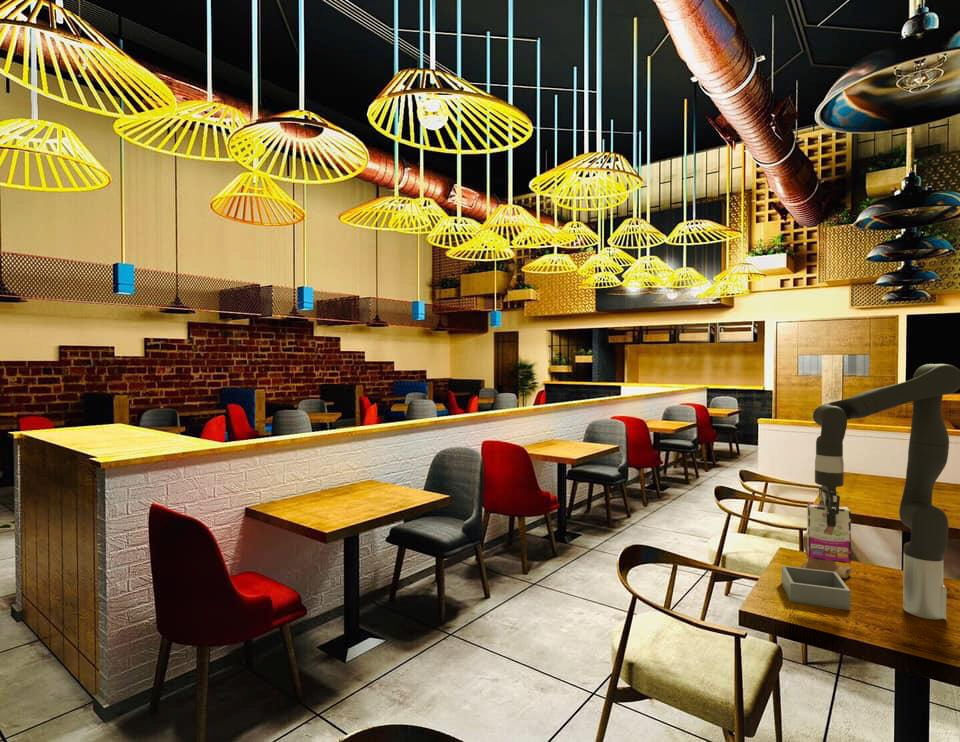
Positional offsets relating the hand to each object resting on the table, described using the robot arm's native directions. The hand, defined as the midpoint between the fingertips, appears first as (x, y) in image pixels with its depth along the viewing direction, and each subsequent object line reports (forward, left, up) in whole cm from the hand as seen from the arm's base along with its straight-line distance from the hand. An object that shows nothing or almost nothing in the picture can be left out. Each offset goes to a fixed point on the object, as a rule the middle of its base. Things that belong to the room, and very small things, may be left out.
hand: (828, 523), depth 166 cm
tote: (+3, -6, -25) cm, 26 cm away
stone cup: (-5, -28, -26) cm, 38 cm away
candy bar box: (0, 0, -11) cm, 11 cm away
